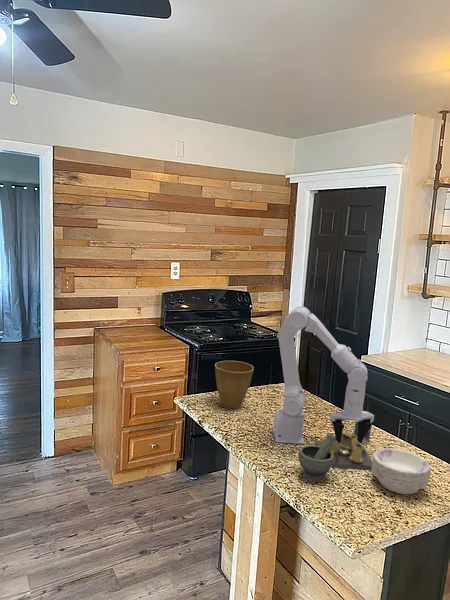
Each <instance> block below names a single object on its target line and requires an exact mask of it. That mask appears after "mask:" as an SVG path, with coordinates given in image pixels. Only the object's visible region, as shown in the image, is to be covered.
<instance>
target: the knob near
mask: <svg viewBox="0 0 450 600" xmlns="http://www.w3.org/2000/svg"><path fill="white" fill-rule="evenodd" d="M359 444H360V443H357V444H355V445H354V447H353V451H352V455H351V456H350V458H349V459H350V460H351V461H352V462H355V463H362V462H363V458H362V457H361V456H362V450H363V449H364V445H362V444H360V445H359Z"/></svg>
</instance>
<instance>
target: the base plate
mask: <svg viewBox="0 0 450 600" xmlns="http://www.w3.org/2000/svg"><path fill="white" fill-rule="evenodd" d="M321 442H322V440H314V446H320V447H321ZM358 444H359V445H361V443H358ZM352 451H353V450H347V449H344V448H343V447H342V444H341V443H338V445H337V452H335V454H333V455H334V460H333V463H332V466H331V468H338V469H352V470H363V471H364V470H365V471H372V470H371V467H372V459H371V458H370V456H369V455H368V453H367V452H366V450H365V448H363V450H362V456H361V457H362V458H363V462H362V463H355V462H352V461H351V460H350V459H349V458H350V456H351V455H352Z"/></svg>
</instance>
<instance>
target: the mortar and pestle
mask: <svg viewBox="0 0 450 600" xmlns="http://www.w3.org/2000/svg"><path fill="white" fill-rule="evenodd" d="M335 439H336V437H335V434H332V433H330V432H327V434H326V439H325V440H324V442H323V444H322V445H321V447H320V446H315V445H314V444H313V445H312V444H308V445H305V446H301V447H300V449H299V450H298V462H299V465H300V466H301V468H302V469H303V470H302V476H303V477H304V478H305V479H307V480H308V481H312V482H318V483H319V482H322V481H324V480H325V478H326V476H325V475H326V474H328V473H329V471H330V469H331V468H332V467H331V466H332V463H333V460H334V455H333V453H332V452H331V451H330V448H331V446H332V444H333V441H334V440H335Z"/></svg>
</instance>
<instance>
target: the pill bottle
mask: <svg viewBox="0 0 450 600" xmlns="http://www.w3.org/2000/svg"><path fill="white" fill-rule="evenodd" d="M362 412H363V413H370V412H369V411H365V410H362ZM354 422H355V423H354V428H353V429H354V430H353V435H354V436H356V437H357V433H358V421H354ZM370 422H371V423H372V424H373V421H370ZM371 432H372V427H371V428H370V429H369V430H368V431H367V433H366V435H365V437H364V439H363V441H362V443H361V444H368V443H369V442H370V438H371ZM357 443H360V442H359V441H358V440H357Z"/></svg>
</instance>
